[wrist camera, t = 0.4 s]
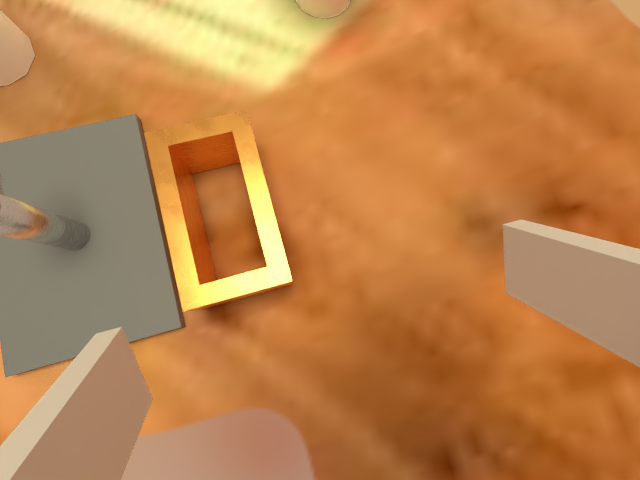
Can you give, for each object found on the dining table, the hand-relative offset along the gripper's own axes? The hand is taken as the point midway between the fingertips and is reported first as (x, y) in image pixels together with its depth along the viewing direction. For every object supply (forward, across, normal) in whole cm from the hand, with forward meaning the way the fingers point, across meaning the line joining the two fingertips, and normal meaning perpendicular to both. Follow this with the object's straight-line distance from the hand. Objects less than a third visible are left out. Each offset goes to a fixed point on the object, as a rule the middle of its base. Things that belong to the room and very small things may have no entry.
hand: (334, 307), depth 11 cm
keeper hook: (+22, +18, -3) cm, 29 cm away
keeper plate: (+23, +18, -1) cm, 29 cm away
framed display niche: (+22, +5, 0) cm, 22 cm away
